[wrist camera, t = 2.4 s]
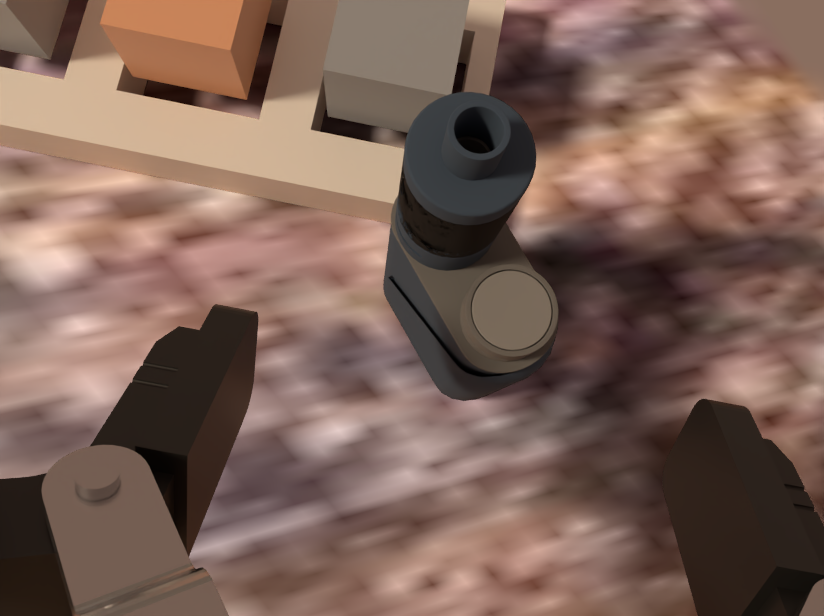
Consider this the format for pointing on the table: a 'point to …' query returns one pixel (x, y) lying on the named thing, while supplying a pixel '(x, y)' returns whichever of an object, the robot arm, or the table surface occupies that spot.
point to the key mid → (189, 41)
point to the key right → (391, 59)
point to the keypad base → (226, 118)
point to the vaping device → (467, 249)
